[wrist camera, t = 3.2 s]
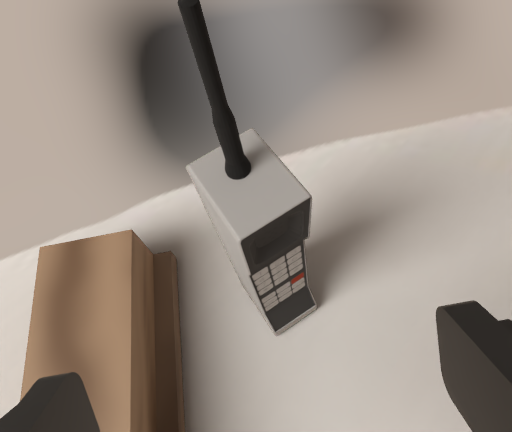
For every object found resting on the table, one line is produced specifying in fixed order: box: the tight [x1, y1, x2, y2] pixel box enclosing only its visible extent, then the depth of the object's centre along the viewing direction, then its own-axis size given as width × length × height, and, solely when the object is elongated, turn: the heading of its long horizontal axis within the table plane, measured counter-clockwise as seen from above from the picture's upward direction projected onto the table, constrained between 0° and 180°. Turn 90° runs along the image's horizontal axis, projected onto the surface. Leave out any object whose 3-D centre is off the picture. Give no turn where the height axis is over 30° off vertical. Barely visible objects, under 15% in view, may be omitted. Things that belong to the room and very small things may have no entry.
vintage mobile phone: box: [178, 0, 317, 336], centre depth 22 cm, size 4×5×25 cm
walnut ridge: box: [20, 230, 185, 432], centre depth 28 cm, size 10×22×6 cm, turn 8°
